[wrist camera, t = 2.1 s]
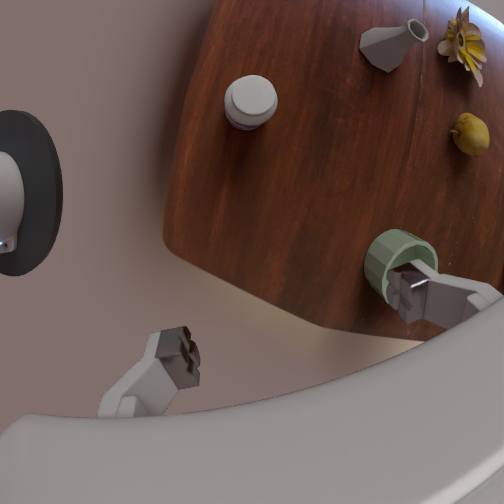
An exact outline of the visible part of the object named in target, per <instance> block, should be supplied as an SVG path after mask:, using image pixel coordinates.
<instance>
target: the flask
mask: <svg viewBox="0 0 504 504" xmlns="http://www.w3.org/2000/svg"><path fill="white" fill-rule="evenodd" d="M427 39H428V31H427V30H426V28H425V27H424V26H423V24H422V23H420V22H419V21H417V20H416V19H412V20H409V21H407V25H405V26H401V27H391V28H372V29H370V30H368V31H367V32H365V33H363V34H361V41H360V47H359V49H360V50H361V52H362V53H363V54H364V55H365V57H366V58H367V59H368V60H369V62H370V63H371V64H372V65H374V66H376V67H378V68H380V69H382V70H384V71H386V72H388V73H389V72H390V71H392V70H393V69H395V68H396V67H398V66H399V65H400V64H401V62H402V61H403V59H404V57H405V55H406V54H407V52H408V51H409V49H410V48H411V47H412V46H413V45H414V44H415V43H416V42H424V41H426V40H427Z"/></svg>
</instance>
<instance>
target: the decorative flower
mask: <svg viewBox="0 0 504 504" xmlns="http://www.w3.org/2000/svg"><path fill="white" fill-rule="evenodd" d="M449 23H450V24H451V25H449V24H448V25H449V27H450V28H449V30H448V31H446V34H445V39H446V40H444V41H442V42H440V43H439V45H438V51H439V53H440V54H441V55H444V56H450V57H449V58H448V63H449V62H454V61H458V60H459V61H460V62H461V63H463V65H464V67H465V68H466V70H467V71H470V72H471V74H472V76H473V78H474V79H475V80H476V82H477V83H478V85H479V86H480V87H481V86H482V84H483V78H482V75H481V72H480V71H479V69H480V70H481V69H482V65H481V62H480V61H482V62H486V61H487V57H486V54H485V44H484V42H483V40H482V39H481V37H482V36H481V32H480V30H479V28H478V27H477V26H476V25H474V24H473V23H469V6H468V7H467V8H466V10H465V11H464V12H463V13H462V14H461V7H460V8H459V10H458V13H457V17H456V20H455V19H454V18H453V17H452V20H451V22H450V21H449ZM470 58H471V59H472V60H471V59H470ZM476 65H477V66H478V67H479V69H478V67H477V66H476Z"/></svg>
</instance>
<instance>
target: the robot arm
mask: <svg viewBox="0 0 504 504" xmlns="http://www.w3.org/2000/svg"><path fill="white" fill-rule="evenodd" d="M23 211H24V187H23V181H22V177H21V174H20V171H19V168H18V166H17V164H16V163H15V161H14V160H13V158H12V157H11V156H10V155H8V154H7V153H5V152H1V151H0V253H6V252H12V251H14V250H16V248H17V233H18V229H19V226H20V223H21V220H22V216H23ZM386 279H387V280H388V281H389V284H388V286H387V288H386V296H387V300H388V302H389V304H390V306H391V307H392V308H393V309H394V310H398V311H399V316H400V318H401V319H402V320H403V321H404V322H405V323H406V324H409V323H412V322H414V321H417V320H419V319H421V318H423V319H425V320H427V321H430V322H432V323H434V324H436V325H439V326H441V327H443V328H445V329H448V330H447V331H445V332H443V333H442V334H440V335H438V336H436V337H434V338H432V339H430V340H428V341H426V342H424V343H422V344H420V345H418V346H416V347H414V348H412V349H410V350H407V351H405V352H403V353H401V354H398V355H396V356H394V357H392V358H389V359H387V360H385V361H382V362H380V363H377V364H375V365H372V366H370V367H367V368H365V369H362V370H360V371H356V372H354V373H351V374H349V375H345V376H343V377H340V378H337V379H334V380H331V381H328V382H325V383H322V384H318V385H316V386H312V387H309V388H306V389H302V390H299V391H295V392H291V393H287V394H283V395H280V396H276V397H272V398H267V399H263V400H259V401H254V402H249V403H244V404H239V405H234V406H229V407H223V408H217V409H211V410H205V411H197V412H190V413H182V414H172V415H163V414H164V413H165V411H166V410H167V408H168V406H169V405H170V404H171V402H172V400H173V399H174V397H175V396H176V394H177V393H178V391H179V389H184V388H190V387H195V386H199V378H200V373H199V371H198V369H197V368H198V367H199V365H200V355H199V351H198V348H197V346H196V343H195V342H194V341H192V340H190V339H191V333H190V331H189V329H188V328H187V327H186V326H183V327H178V328H173V329H167V330H162V331H157V332H152V333H150V334H149V337H148V340H147V344H146V347H145V351H144V355H143V358H142V360H139V361H138V362H137V363H136V364H135V365H134V366H133V367H132V368H131V369H130V370H129V371H128V372H126V373H125V374H124V375H123V376H122V377H121V378H120V379H119V380H118V381H117V382H116V383H115V384H114V385H113V386H112V387H111V388H110V389H109V390H108V391H107V392H106V393H105V394H104V395H103V396H102V397H101V400H100V404H99V407H98V410H97V413H96V417H95V418H88V417H85V418H84V417H68V416H67V417H66V416H54V415H44V414H37V413H26V414H24V415H22V416H21V417H19V418H18V419H17V420H15V421H14V422H13V423H12V424H11V425H10V426H8V427H7V428H6V429H5V430H4V431H3V432H2V433H1V434H0V504H504V296H503V295H502V294H501V293H500V292H498V291H497V290H496V289H494V288H493V287H492V286H491V285H489V284H487V283H483V282H478V281H474V280H469V279H465V278H460V277H455V276H451V275H446V274H441V275H440V274H438V273H437V272H436V271H434V270H433V269H432V268H431V267H429V266H428V265H427V264H425V263H424V262H423V261H421V260H420V259H415V260H412V261H410V262H407V263H405V264H403V265H400V266H397V267H394V268H392V269H389V270H388V271H387V276H386Z"/></svg>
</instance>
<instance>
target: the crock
mask: <svg viewBox="0 0 504 504" xmlns="http://www.w3.org/2000/svg"><path fill="white" fill-rule="evenodd" d="M415 259H420V260H421V261H423V262H424V263H425V264H427V265H428V266H429V267H431V268H432V269H433V270H434V271H436V272H437V269H438V259H437V255H436V252H435V250H434V248H433V247H432V246H431V245H430V244H428V243H427V242H426V241H424V240H422V239H420V238H418V237H416V236H414V235H413V234H411V233H409V232H407V231H404V230H400V229H393V230H389V231H386V232H384V233H382V234H381V235H380V236H378V237H377V238H376V239H375V240H374V241H373V243H372V244H371V246H370V247H369V249H368V251H367V253H366V256H365V261H364V273H365V277H366V279H367V281H368V282H369V284H370V285H371V287H372V288H373V289H374V290H375V291H376V292H377V293H378V294H379V295H380V296H381V297H382V298H383V299H384V300H385V301H386V302H387V303H388V304H389V302H388V300H387V296H386V288H387V286H388V284H389V281H388V280H387V279H386V276H387V271H388V270H389V269H392V268H394V267H397V266H400V265H403V264H405V263H407V262H410V261H412V260H415Z"/></svg>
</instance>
